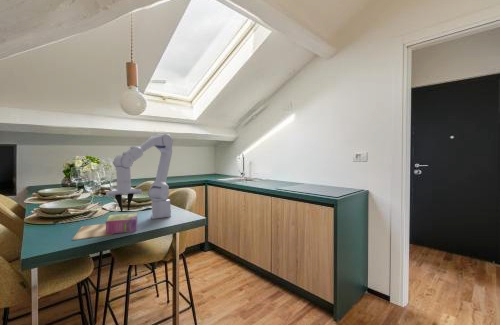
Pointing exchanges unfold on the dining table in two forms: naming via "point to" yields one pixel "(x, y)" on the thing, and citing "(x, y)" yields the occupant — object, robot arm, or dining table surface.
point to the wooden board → (91, 232)
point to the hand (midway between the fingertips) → (125, 210)
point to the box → (121, 223)
